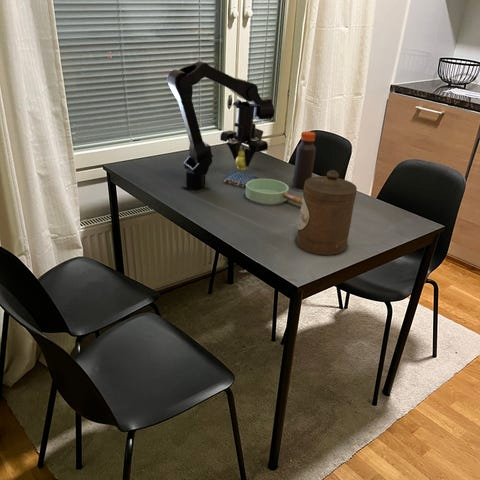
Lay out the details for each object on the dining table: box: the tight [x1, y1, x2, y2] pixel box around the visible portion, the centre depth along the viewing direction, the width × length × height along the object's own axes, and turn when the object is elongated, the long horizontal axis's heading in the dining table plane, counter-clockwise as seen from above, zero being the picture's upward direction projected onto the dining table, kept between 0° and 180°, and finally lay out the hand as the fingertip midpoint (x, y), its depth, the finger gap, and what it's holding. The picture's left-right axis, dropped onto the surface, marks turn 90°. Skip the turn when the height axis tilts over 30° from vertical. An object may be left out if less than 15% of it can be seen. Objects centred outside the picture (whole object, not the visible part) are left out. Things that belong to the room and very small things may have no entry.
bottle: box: [291, 131, 317, 191], centre depth 179 cm, size 7×7×20 cm
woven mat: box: [223, 171, 259, 188], centre depth 185 cm, size 10×11×2 cm
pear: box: [235, 145, 248, 171], centre depth 180 cm, size 5×5×8 cm
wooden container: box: [296, 169, 358, 256], centre depth 140 cm, size 15×15×22 cm
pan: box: [244, 178, 290, 205], centre depth 174 cm, size 15×15×4 cm
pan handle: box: [283, 192, 303, 206], centre depth 166 cm, size 2×12×2 cm, turn 47°
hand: (242, 164), depth 182 cm, fingers closed on pear, 5 cm apart
